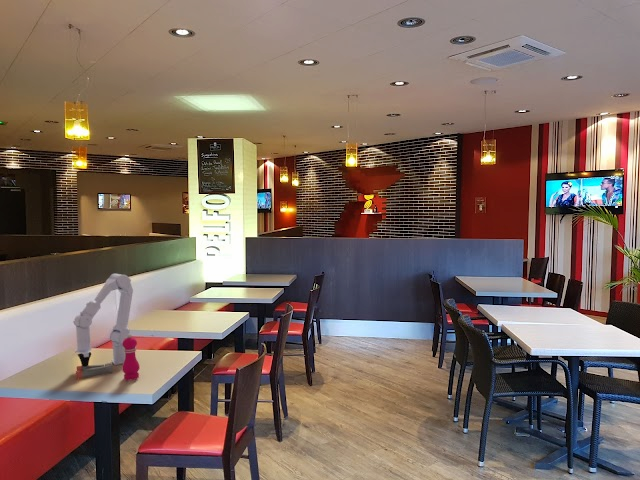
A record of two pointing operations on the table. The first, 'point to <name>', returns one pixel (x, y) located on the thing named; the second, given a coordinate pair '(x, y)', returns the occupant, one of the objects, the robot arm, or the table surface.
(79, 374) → the tongs body
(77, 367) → the tongs jaw
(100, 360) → the table surface
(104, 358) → the table surface
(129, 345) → the pepper mill
